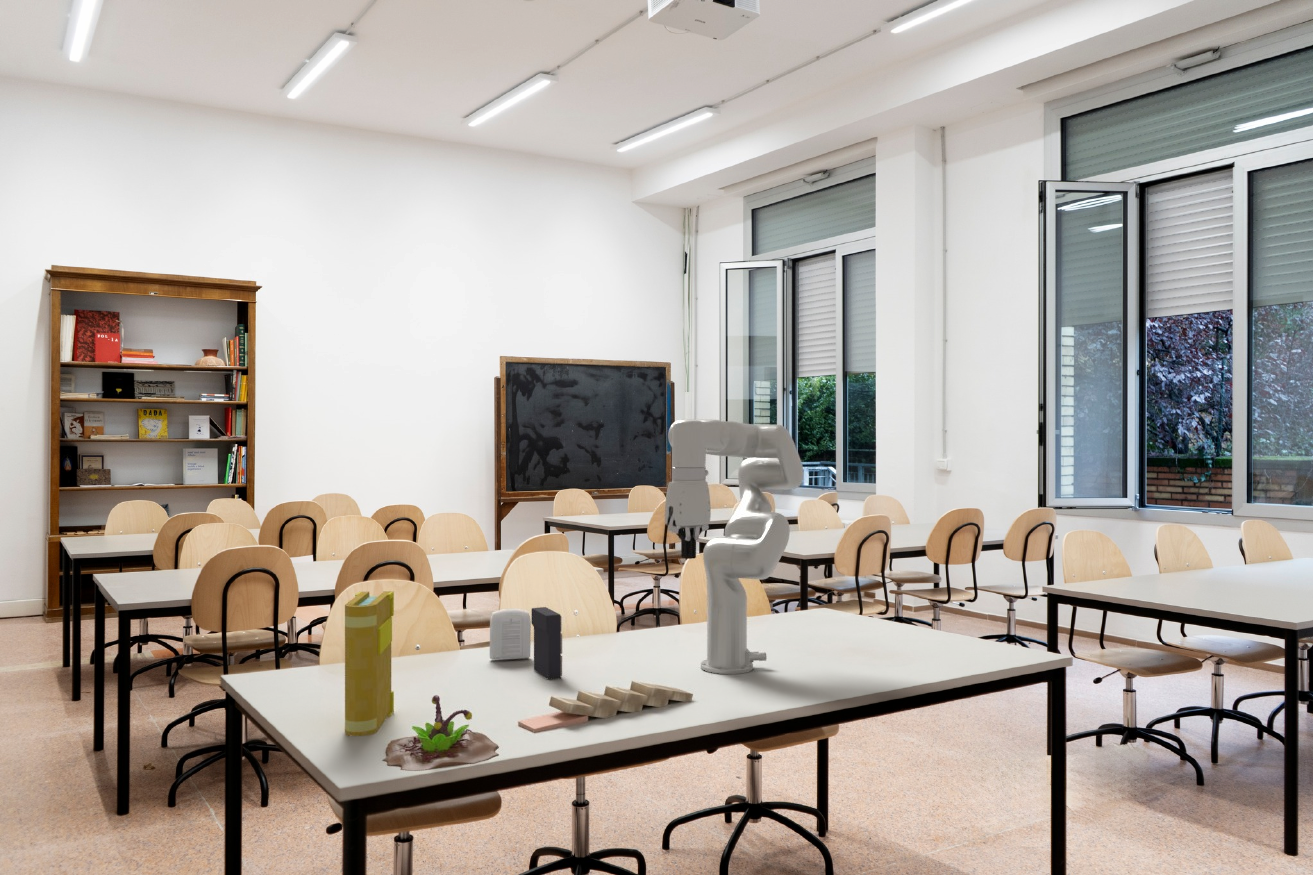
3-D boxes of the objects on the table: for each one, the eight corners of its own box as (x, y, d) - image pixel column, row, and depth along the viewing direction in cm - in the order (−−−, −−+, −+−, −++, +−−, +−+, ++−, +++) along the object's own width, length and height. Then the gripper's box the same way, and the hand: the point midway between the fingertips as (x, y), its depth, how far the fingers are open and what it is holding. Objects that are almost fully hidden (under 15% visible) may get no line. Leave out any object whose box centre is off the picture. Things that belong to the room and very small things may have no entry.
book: (359, 715, 195) (359, 591, 194) (393, 714, 195) (393, 591, 195) (339, 742, 178) (339, 607, 178) (376, 741, 178) (376, 606, 178)
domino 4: (651, 692, 204) (605, 685, 197) (668, 699, 199) (623, 692, 192) (649, 701, 204) (603, 694, 197) (666, 708, 199) (621, 701, 192)
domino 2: (600, 703, 196) (551, 696, 189) (617, 710, 191) (567, 702, 184) (597, 712, 196) (548, 705, 189) (614, 719, 191) (565, 712, 184)
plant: (483, 738, 182) (483, 678, 182) (510, 771, 164) (510, 705, 164) (373, 752, 174) (373, 689, 174) (388, 789, 156) (388, 719, 156)
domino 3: (625, 698, 200) (578, 690, 193) (642, 704, 195) (595, 697, 188) (623, 706, 200) (576, 699, 193) (640, 713, 195) (593, 706, 188)
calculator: (564, 678, 224) (564, 614, 224) (546, 681, 222) (546, 615, 222) (548, 668, 234) (548, 606, 233) (531, 670, 232) (531, 607, 232)
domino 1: (571, 708, 192) (518, 721, 185) (588, 715, 187) (534, 728, 180) (571, 717, 192) (518, 730, 185) (588, 724, 187) (534, 738, 180)
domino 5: (675, 687, 208) (631, 680, 201) (693, 693, 203) (649, 687, 196) (673, 696, 208) (629, 689, 201) (691, 702, 203) (647, 695, 196)
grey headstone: (529, 654, 248) (529, 606, 247) (531, 658, 243) (531, 609, 243) (489, 656, 245) (489, 608, 245) (490, 660, 241) (490, 611, 241)
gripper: (703, 474, 223) (703, 553, 223) (651, 475, 214) (651, 558, 214) (725, 475, 217) (725, 557, 217) (672, 477, 208) (672, 562, 208)
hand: (688, 557), depth 216 cm, fingers closed
